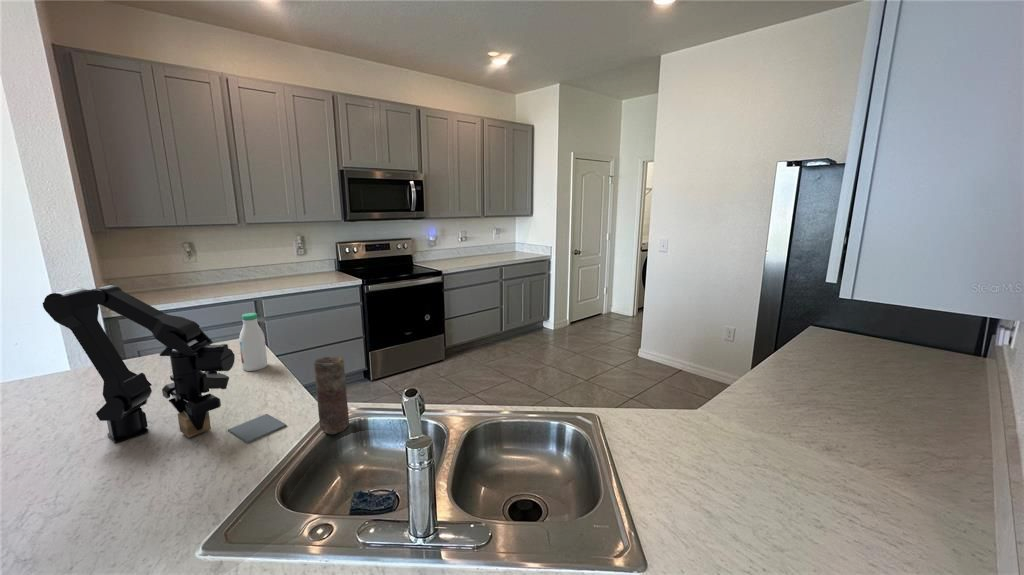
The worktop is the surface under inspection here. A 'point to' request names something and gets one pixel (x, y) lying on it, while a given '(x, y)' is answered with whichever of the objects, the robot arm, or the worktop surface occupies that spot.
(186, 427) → the walnut cube
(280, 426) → the slate pad
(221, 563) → the worktop surface
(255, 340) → the milk bottle
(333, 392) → the candle
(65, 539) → the worktop surface
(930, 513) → the worktop surface
